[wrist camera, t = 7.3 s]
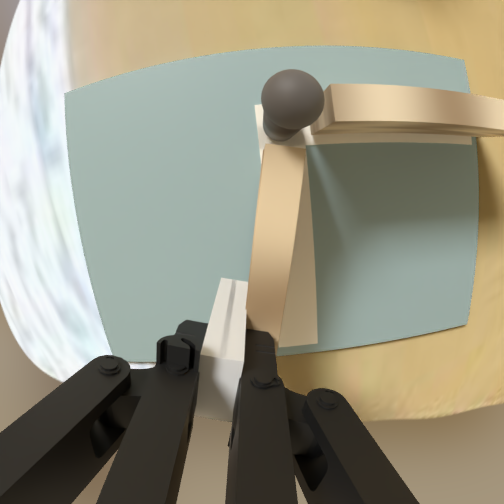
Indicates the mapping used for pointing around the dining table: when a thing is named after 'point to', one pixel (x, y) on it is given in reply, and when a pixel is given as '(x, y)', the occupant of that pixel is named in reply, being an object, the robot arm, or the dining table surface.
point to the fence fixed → (373, 109)
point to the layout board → (246, 194)
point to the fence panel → (274, 237)
